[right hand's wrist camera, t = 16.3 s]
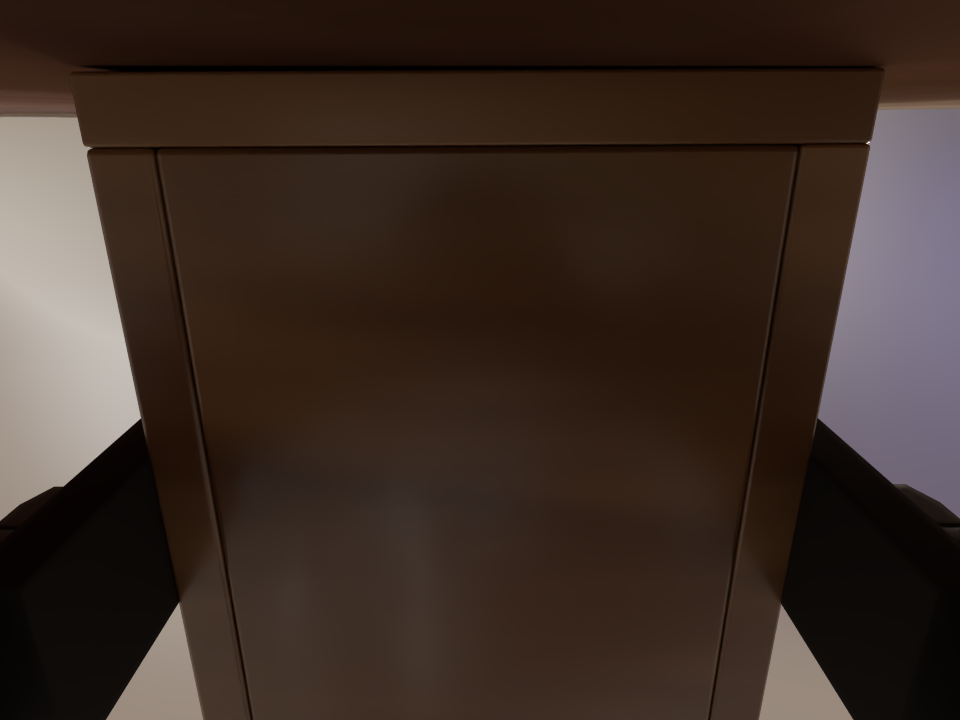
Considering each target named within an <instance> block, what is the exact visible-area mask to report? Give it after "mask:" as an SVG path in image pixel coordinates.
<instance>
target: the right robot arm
mask: <svg viewBox="0 0 960 720" xmlns="http://www.w3.org/2000/svg"><path fill="white" fill-rule="evenodd" d="M178 603H179V599H178V594H177V589H176V585H175V580H174V575H173V570H172V565H171V560H170V556H169V551H168V546H167V541H166V536H165V531H164V526H163V522H162V517H161V512H160V507H159V502H158V497H157V492H156V488H155V483H154V478H153V473H152V468H151V463H150V459H149V454H148V449H147V444H146V439H145V434H144V429H143V425H142V420H141V419H140V420H139V421H138V422H136V423H135V424H134V425H133V426H132V427H131V428H130V429H128V430H127V431H126V432H125V433H124V434H123V435H122V436H121V437H119V438H118V439H117V440H116V441H115V442H114V443H113V444H111V445H110V446H109V447H108V448H107V449H106V450H105V451H104V452H102V453H101V454H100V455H99V456H98V457H97V458H96V459H94V460H93V461H92V462H91V463H90V464H89V465H88V466H87V467H85V468H84V469H83V470H82V471H81V472H80V473H79V474H77V475H76V476H75V477H74V478H73V479H72V480H71V481H69V482H68V483H67V484H66V485H65V486H64V487H53V488H51V489H49V490H47V491H45V492H43V493H41V494H39V495H37V496H36V497H34V498H32V499H30V500H28V501H26V502H24V503H22V504H20V505H19V506H18V507H16V508H15V509H14V510H13V511H12V512H10V513H9V514H8V515H7V516H6V517H5V518H3V519H2V520H1V521H0V720H106V719H107V717H108V715H109V714H110V712H111V710H112V709H113V707H114V706H115V704H116V702H117V701H118V699H119V698H120V696H121V694H122V693H123V691H124V690H125V688H126V686H127V685H128V683H129V682H130V680H131V678H132V677H133V675H134V674H135V672H136V670H137V669H138V667H139V666H140V664H141V662H142V661H143V659H144V658H145V656H146V654H147V653H148V651H149V650H150V648H151V646H152V645H153V643H154V642H155V640H156V638H157V637H158V635H159V633H160V632H161V630H162V629H163V627H164V625H165V624H166V622H167V621H168V619H169V617H170V616H171V614H172V613H173V611H174V609H175V608H176V606H177V605H178ZM781 604H782V606H783V607H784V609H785V610H786V612H787V614H788V615H789V617H790V619H791V620H792V622H793V623H794V625H795V627H796V628H797V630H798V631H799V633H800V635H801V636H802V638H803V640H804V641H805V643H806V644H807V646H808V648H809V649H810V651H811V652H812V654H813V656H814V657H815V659H816V660H817V662H818V664H819V665H820V667H821V668H822V670H823V672H824V673H825V675H826V676H827V678H828V680H829V681H830V683H831V684H832V686H833V688H834V689H835V691H836V692H837V694H838V696H839V697H840V699H841V701H842V702H843V704H844V705H845V707H846V709H847V710H848V712H849V713H850V715H851V716H852V718H853V720H960V519H959V518H958V517H957V516H956V515H955V514H953V513H952V512H951V511H950V510H949V509H947V508H946V507H945V506H944V505H943V504H941V503H940V502H938V501H936V500H935V499H933V498H931V497H929V496H927V495H925V494H923V493H921V492H919V491H917V490H915V489H913V488H911V487H909V486H908V485H906V484H892V483H891V482H890V481H889V480H887V479H886V478H885V477H884V476H883V475H882V474H881V473H879V472H878V471H877V470H876V469H875V468H874V467H873V466H872V465H870V464H869V463H868V462H867V461H866V460H865V459H864V458H862V457H861V456H860V455H859V454H858V453H857V452H856V451H855V450H853V449H852V448H851V447H850V446H849V445H848V444H847V443H845V442H844V441H843V440H842V439H841V438H840V437H839V436H837V435H836V434H835V433H834V432H833V431H832V430H831V429H830V428H828V427H827V426H826V425H825V424H824V423H823V422H822V421H820V420H819V419H818V418H817V423H816V428H815V433H814V438H813V443H812V449H811V454H810V459H809V464H808V469H807V474H806V479H805V484H804V490H803V495H802V500H801V505H800V510H799V515H798V520H797V525H796V530H795V535H794V540H793V545H792V550H791V555H790V560H789V565H788V570H787V575H786V580H785V585H784V590H783V595H782V600H781Z"/></svg>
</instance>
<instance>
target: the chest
mask: <svg viewBox="0 0 960 720" xmlns="http://www.w3.org/2000/svg"><path fill="white" fill-rule="evenodd" d="M884 73H885V71H884V69H883V68H691V69H497V70H303V71H109V72H72V73H70V74H69V78H70V83H71V88H72V93H73V98H74V102H75V107H76V112H77V117H78V122H79V127H80V131H81V136H82V141H83V144H84V146H86V147H88V148H92V149H90V150H88V153H87V158H88V163H89V168H90V172H91V177H92V182H93V187H94V192H95V197H96V201H97V206H98V211H99V216H100V221H101V225H102V230H103V235H104V240H105V245H106V250H107V255H108V260H109V264H110V269H111V274H112V279H113V284H114V289H115V294H116V298H117V303H118V308H119V313H120V318H121V323H122V328H123V332H124V337H125V342H126V347H127V352H128V357H129V361H130V366H131V371H132V376H133V381H134V386H135V391H136V395H137V400H138V405H139V410H140V415H141V420H142V425H143V429H144V434H145V439H146V444H147V449H148V454H149V459H150V463H151V468H152V473H153V478H154V483H155V488H156V492H157V497H158V502H159V507H160V512H161V517H162V522H163V526H164V531H165V536H166V541H167V546H168V551H169V556H170V560H171V565H172V570H173V575H174V580H175V585H176V589H177V594H178V599H179V604H180V609H181V614H182V618H183V623H184V628H185V633H186V638H187V643H188V647H189V653H190V657H191V662H192V667H193V672H194V677H195V682H196V686H197V691H198V696H199V701H200V706H201V711H202V716H203V720H759V716H760V711H761V705H762V700H763V695H764V690H765V685H766V680H767V675H768V669H769V664H770V659H771V654H772V649H773V644H774V639H775V633H776V628H777V623H778V618H779V613H780V608H781V600H782V595H783V590H784V585H785V580H786V575H787V570H788V565H789V560H790V555H791V550H792V545H793V540H794V535H795V530H796V525H797V520H798V515H799V510H800V505H801V500H802V495H803V490H804V484H805V479H806V474H807V469H808V464H809V459H810V454H811V449H812V443H813V438H814V433H815V428H816V423H817V418H818V413H819V407H820V402H821V397H822V392H823V387H824V382H825V377H826V371H827V366H828V361H829V356H830V351H831V346H832V341H833V335H834V330H835V325H836V320H837V315H838V309H839V305H840V299H841V294H842V289H843V284H844V279H845V274H846V269H847V264H848V258H849V253H850V248H851V243H852V238H853V233H854V228H855V222H856V217H857V212H858V207H859V202H860V197H861V192H862V186H863V181H864V176H865V171H866V166H867V161H868V156H869V151H870V146H869V145H868V144H866V143H869V142H870V141H871V139H872V135H873V130H874V125H875V120H876V114H877V109H878V104H879V99H880V94H881V89H882V84H883V78H884Z"/></svg>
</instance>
